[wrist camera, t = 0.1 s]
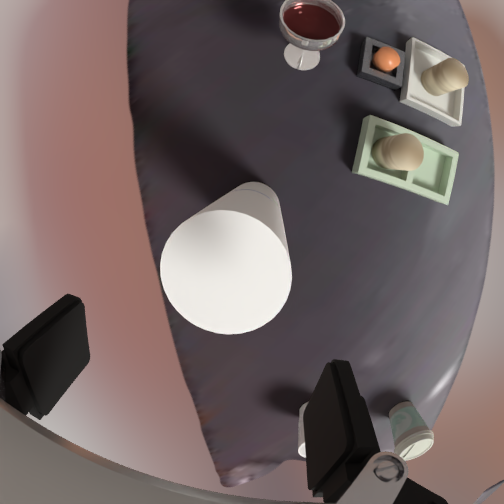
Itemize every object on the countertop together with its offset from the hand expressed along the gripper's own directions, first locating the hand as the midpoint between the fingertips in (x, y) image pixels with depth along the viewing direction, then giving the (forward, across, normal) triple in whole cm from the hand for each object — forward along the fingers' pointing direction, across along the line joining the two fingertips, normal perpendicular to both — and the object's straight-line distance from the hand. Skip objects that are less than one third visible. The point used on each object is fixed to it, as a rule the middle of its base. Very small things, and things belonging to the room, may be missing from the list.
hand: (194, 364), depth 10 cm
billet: (+31, -22, -27) cm, 46 cm away
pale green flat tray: (+31, -20, -13) cm, 39 cm away
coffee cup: (+31, -40, +33) cm, 61 cm away
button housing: (+31, -13, -26) cm, 43 cm away
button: (+29, -13, -26) cm, 41 cm away
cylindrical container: (+31, 0, -1) cm, 31 cm away
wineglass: (+31, -2, -24) cm, 39 cm away
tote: (+31, -22, -27) cm, 47 cm away
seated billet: (+30, -16, -13) cm, 36 cm away
